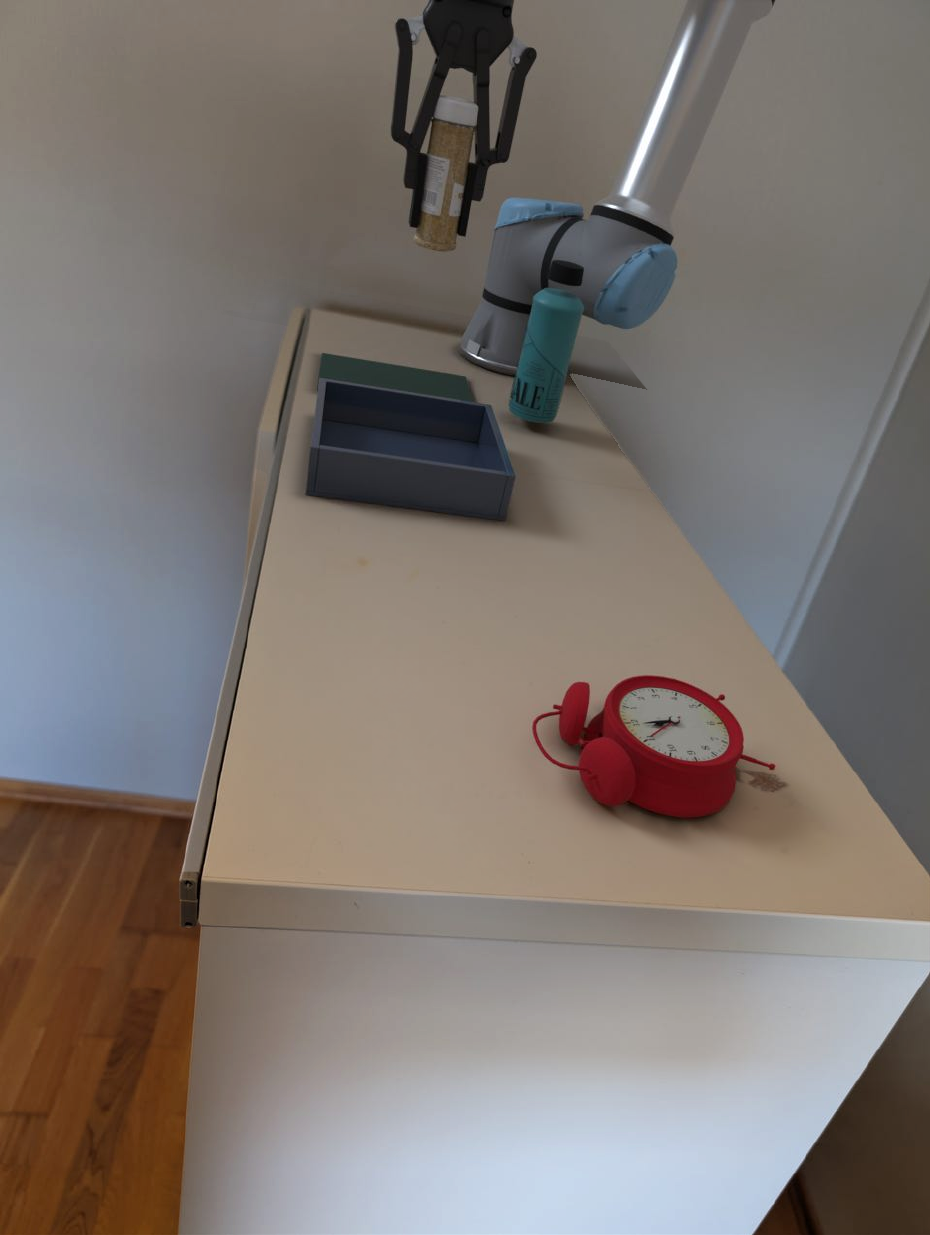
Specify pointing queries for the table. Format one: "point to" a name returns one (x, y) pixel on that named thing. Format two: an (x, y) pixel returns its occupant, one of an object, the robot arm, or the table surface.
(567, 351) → the beverage bottle
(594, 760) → the alarm clock
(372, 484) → the open box
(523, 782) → the table surface
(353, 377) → the mat
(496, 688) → the table surface
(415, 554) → the table surface
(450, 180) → the sprinkles bottle
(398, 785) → the table surface
